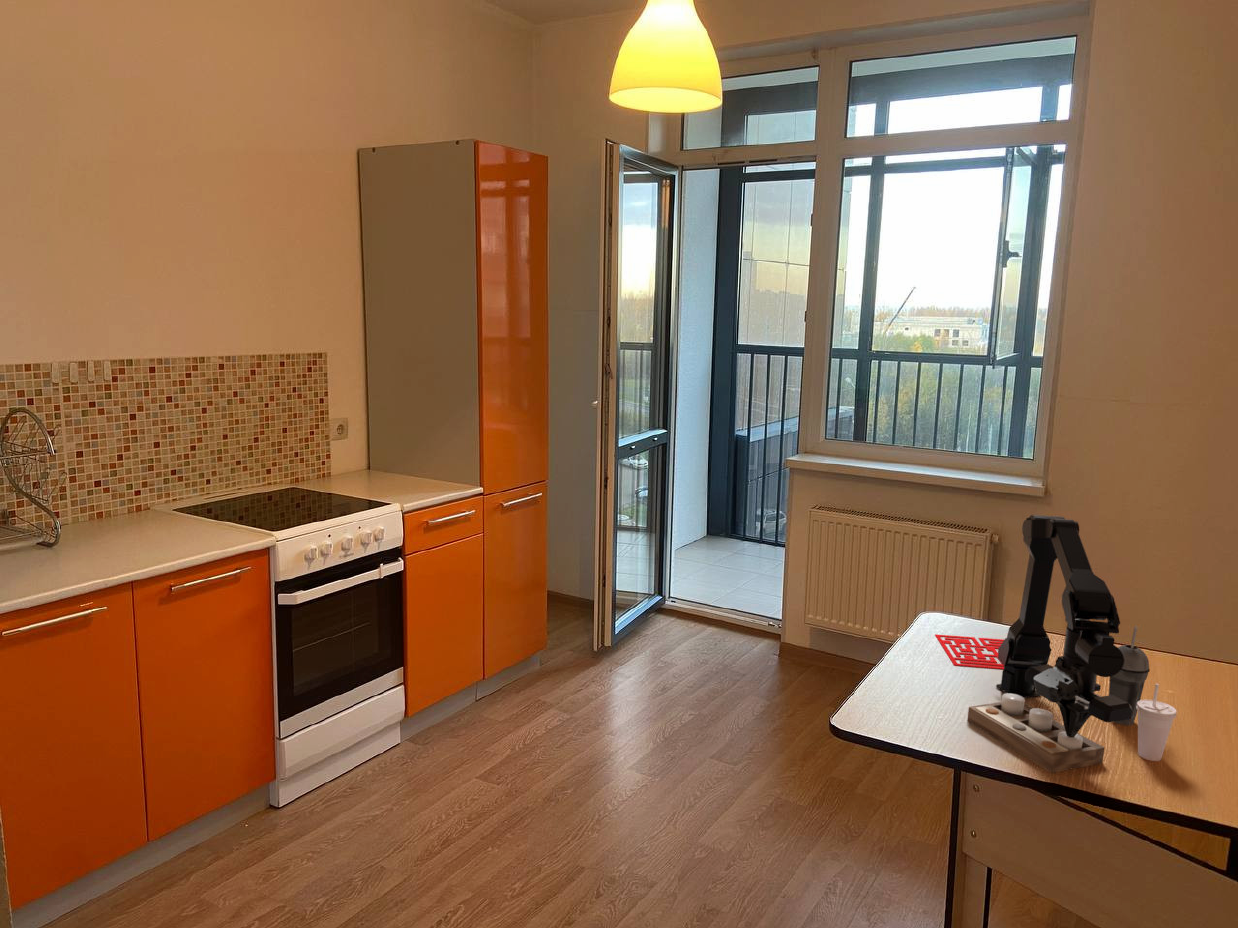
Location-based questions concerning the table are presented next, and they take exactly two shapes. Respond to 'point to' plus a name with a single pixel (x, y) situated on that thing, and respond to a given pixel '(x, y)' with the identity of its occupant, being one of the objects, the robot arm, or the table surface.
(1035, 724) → the button middle
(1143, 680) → the beverage cup
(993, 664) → the maze puzzle
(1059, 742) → the button
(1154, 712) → the smoothie
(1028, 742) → the button board
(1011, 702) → the button
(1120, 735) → the table surface
